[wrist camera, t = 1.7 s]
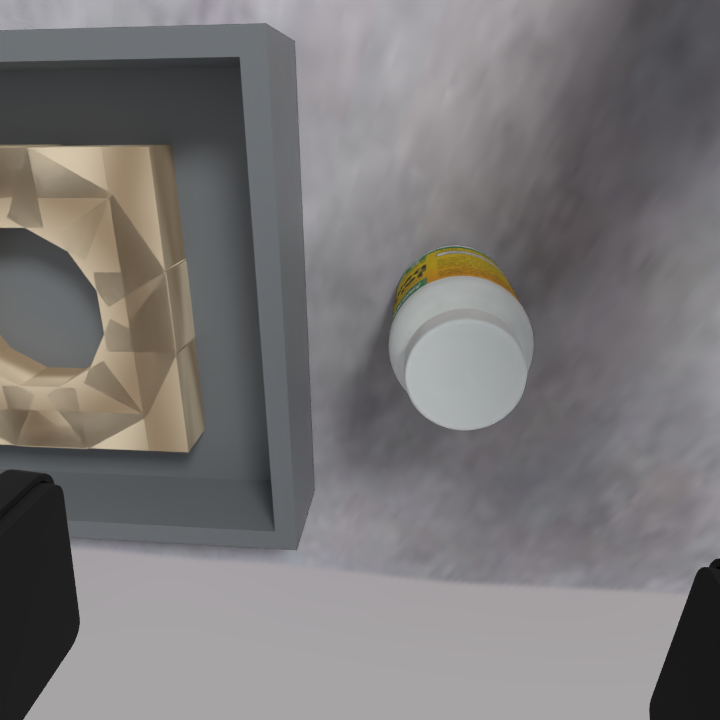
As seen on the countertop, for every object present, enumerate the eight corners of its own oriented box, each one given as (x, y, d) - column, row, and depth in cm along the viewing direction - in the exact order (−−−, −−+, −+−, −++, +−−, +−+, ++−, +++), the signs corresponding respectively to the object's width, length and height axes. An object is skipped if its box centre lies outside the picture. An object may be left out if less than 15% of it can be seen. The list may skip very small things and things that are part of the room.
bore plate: (172, 143, 26) (149, 145, 24) (205, 429, 32) (189, 453, 29) (-125, 145, 28) (-172, 147, 26) (-46, 420, 33) (-80, 442, 31)
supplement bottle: (489, 364, 30) (517, 468, 21) (383, 336, 30) (366, 429, 21) (526, 258, 28) (574, 324, 19) (412, 229, 28) (406, 280, 19)
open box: (294, 41, 25) (265, 23, 21) (314, 490, 33) (297, 550, 29) (-246, 53, 28) (-381, 40, 23) (-106, 470, 36) (-184, 523, 31)
